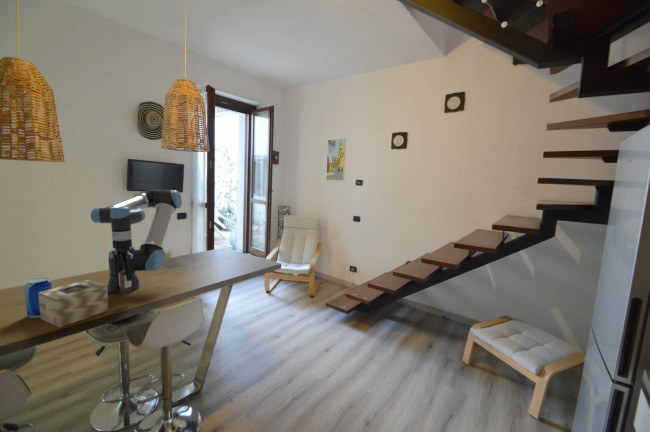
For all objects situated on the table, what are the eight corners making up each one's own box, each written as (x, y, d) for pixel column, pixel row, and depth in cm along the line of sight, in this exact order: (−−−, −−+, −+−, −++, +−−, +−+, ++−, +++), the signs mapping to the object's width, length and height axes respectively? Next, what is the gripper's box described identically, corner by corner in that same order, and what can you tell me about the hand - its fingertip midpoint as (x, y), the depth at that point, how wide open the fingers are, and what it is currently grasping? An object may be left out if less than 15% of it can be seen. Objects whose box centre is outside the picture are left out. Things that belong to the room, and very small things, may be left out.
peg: (127, 289, 141) (126, 268, 139) (132, 291, 139) (131, 270, 138) (118, 292, 137) (117, 271, 135) (123, 294, 135) (122, 272, 134)
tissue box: (89, 303, 139) (87, 279, 137) (108, 310, 132) (107, 285, 131) (40, 318, 122) (38, 292, 121) (60, 327, 116) (58, 299, 114)
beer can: (33, 320, 121) (30, 284, 119) (23, 316, 124) (19, 281, 122) (58, 312, 128) (55, 278, 127) (47, 308, 132) (44, 275, 130)
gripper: (102, 238, 134) (106, 285, 138) (124, 243, 128) (128, 292, 131) (119, 235, 141) (122, 280, 144) (141, 239, 134) (144, 286, 138)
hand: (125, 286), depth 138 cm, fingers closed on peg, 3 cm apart
